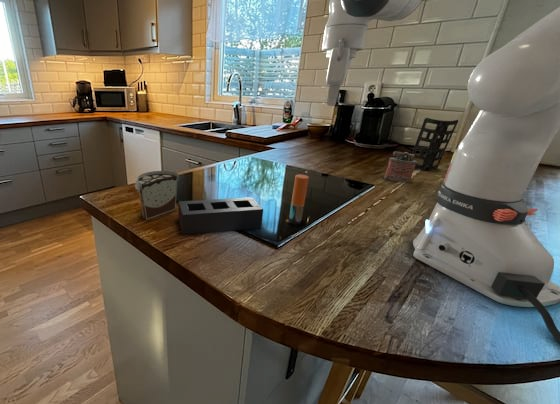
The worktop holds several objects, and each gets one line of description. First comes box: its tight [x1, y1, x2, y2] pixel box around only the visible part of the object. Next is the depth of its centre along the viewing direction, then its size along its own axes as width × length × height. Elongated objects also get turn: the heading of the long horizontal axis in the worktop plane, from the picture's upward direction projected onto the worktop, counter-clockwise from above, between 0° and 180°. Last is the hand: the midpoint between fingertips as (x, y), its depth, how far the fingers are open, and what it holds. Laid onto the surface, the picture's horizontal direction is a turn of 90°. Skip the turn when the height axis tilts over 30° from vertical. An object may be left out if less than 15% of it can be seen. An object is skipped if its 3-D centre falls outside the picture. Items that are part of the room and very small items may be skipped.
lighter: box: [383, 151, 418, 183], centre depth 104 cm, size 8×3×10 cm, turn 58°
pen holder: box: [177, 196, 264, 236], centre depth 71 cm, size 8×19×5 cm, turn 101°
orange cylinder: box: [288, 173, 310, 226], centre depth 72 cm, size 3×3×12 cm
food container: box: [134, 170, 180, 221], centre depth 76 cm, size 12×6×10 cm, turn 134°
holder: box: [411, 117, 459, 172], centre depth 116 cm, size 11×8×20 cm
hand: (331, 104), depth 74 cm, fingers open, 8 cm apart
